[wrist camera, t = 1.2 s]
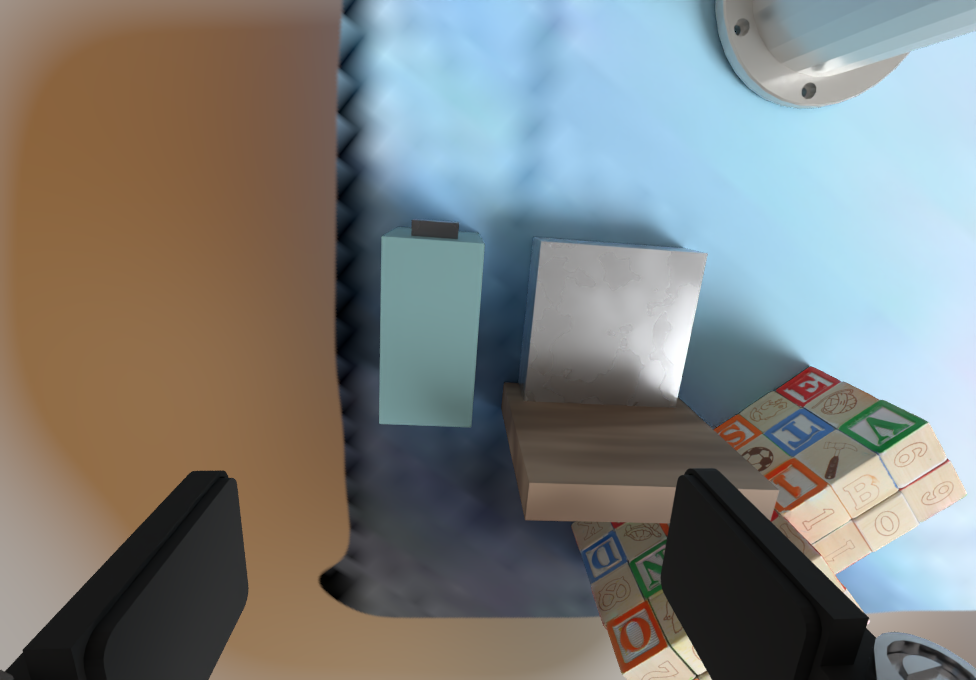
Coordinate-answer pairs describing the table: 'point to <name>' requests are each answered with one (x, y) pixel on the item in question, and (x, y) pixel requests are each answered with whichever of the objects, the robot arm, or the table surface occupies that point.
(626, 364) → the wooden bookend
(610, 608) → the stack of blocks
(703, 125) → the table surface
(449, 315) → the teal cabinet
